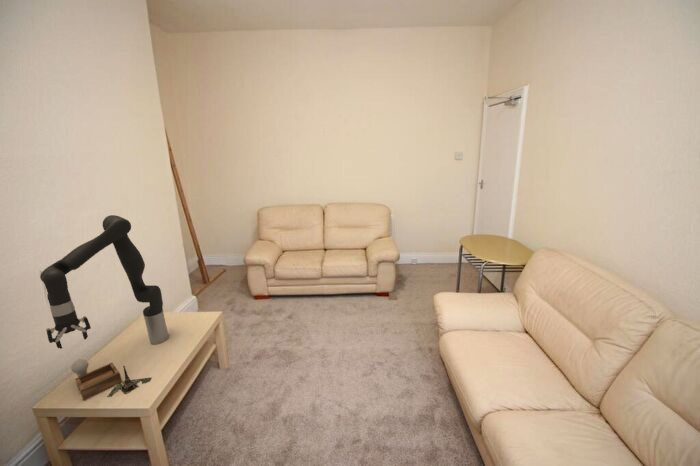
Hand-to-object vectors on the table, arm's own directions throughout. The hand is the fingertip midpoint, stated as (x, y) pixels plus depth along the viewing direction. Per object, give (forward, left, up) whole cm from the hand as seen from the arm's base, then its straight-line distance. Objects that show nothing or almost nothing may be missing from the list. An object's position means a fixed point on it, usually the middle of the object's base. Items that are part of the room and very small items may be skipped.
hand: (73, 343), depth 140 cm
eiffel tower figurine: (+23, +12, -21) cm, 33 cm away
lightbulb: (-1, 0, -21) cm, 21 cm away
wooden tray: (+9, +4, -20) cm, 23 cm away
